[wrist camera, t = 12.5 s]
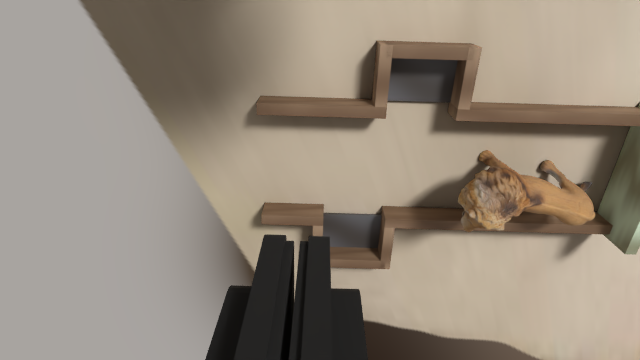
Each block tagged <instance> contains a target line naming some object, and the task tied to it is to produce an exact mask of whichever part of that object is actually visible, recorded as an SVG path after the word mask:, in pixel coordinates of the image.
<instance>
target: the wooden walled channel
mask: <svg viewBox="0 0 640 360" xmlns="http://www.w3.org/2000/svg"><path fill="white" fill-rule="evenodd" d="M481 50H482V47H479V46H476V45H474V44H468V43H435V42H402V41H377V44H376V56H375V68H374V79H373V91H372V99H347V98H314V97H281V96H260V98H259V100H258V101H257V103H256V107H257V115H282V116H315V117H349V118H382V119H386V110H387V101H419V102H449V107H448V113H449V114H450V115H451V116H452V117H453V118H454V119H455V120H456V121H482V122H516V123H549V124H583V125H616V126H630V129H629V132H628V134H627V137H626V139H625V142H624V144H623V147H622V150H621V152H620V155H619V157H618V160H617V162H616V165H615V168H614V170H613V173H612V175H611V178H610V180H609V183H608V186H607V188H606V191H605V193H604V196H603V199H602V201H601V204H600V206H599V209H598V211H597V212H595V217H594V219H592V220H591V221H587V222H586V223H584V224H583V225H577V226H572V225H567V224H565V223H563V222H562V221H560V220H559V219H558V218H557V217H555V216H552V215H547V214H537V213H531V212H526V211H523V212H522V213H521V214H520V215H519V216H516V217H514V216H513V217H511V220H509V221H508V222H506V223H505V224H504V230H500V231H510V232H544V233H578V234H603V235H604V236H605V237H606V238H608V239H609V240H610V241H611V242H612V243H613V244H614V245H615V246H616V247H618V248H619V249H620V250H621V251H622V252H623V253H624V254H636V253H637V251H638V249H639V247H640V103H639V106H638V107H614V106H580V105H547V104H514V103H480V102H471V101H472V96H473V90H474V85H475V80H476V75H477V70H478V65H479V60H480V55H481ZM323 208H324V204H292V203H265V204H264V207H263V211H262V215H261V221H262V224H272V225H306V226H313V236H330V267H336V268H370V269H390V261H391V253H392V246H393V238H394V230H395V228H408V229H442V230H464V228H463V225H462V223H461V219H462V217H463V215H462V213H463V211H464V209H462V208H428V207H394V206H382V212H381V215H379V214H345V213H323ZM474 230H476V231H497V230H496V229H491V230H488V229H485V228H484V229H481V228H476V229H474Z"/></svg>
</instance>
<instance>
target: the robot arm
mask: <svg viewBox="0 0 640 360" xmlns="http://www.w3.org/2000/svg"><path fill="white" fill-rule="evenodd" d="M205 360H368V357H367V348H366V340H365V331H364V322H363V313H362V305H361V296H360V291H359V289H332V288H331V271H330V236H309V242H308V241H300V250H299V260H298V271H297V281H296V291H295V302H294V241H286V235H264V238H263V242H262V246H261V250H260V254H259V258H258V262H257V266H256V270H255V274H254V279H253V283H252V286H230V287H229V289H228V291H227V294H226V297H225V300H224V303H223V307H222V310H221V313H220V316H219V319H218V322H217V325H216V328H215V331H214V335H213V337H212V341H211V344H210V347H209V350H208V353H207V356H206V359H205Z"/></svg>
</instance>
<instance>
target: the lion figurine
mask: <svg viewBox="0 0 640 360" xmlns="http://www.w3.org/2000/svg"><path fill="white" fill-rule="evenodd" d="M479 160H480V161H482V162H484V163H485V164H486V165H488V166H490V168H489V169H488V170H481V171H480V173H476V174H475V178H474V179H473V180H471V181H470V182H469V183H468V184H467V185H465V188H463V189H462V190H461V192H460V194H459V197H458V203H459V204H461V206H462V207H463V208H464V211H463V213H462V215H463V217H462V219H461V223H462V225H463V228H464V230H465V231H466V232H471V231H473V230H474V229H476V228H481V229H484V228H485V229H488V230H491V229H496V230H497V231H500V230H504V224H505V223H506V222H508V221H509V220H511V217H513V216H514V217H516V216H519V215H520V214H521V213H522V212H523V211H526V212H531V213H537V214H547V215H552V216H555V217H557V218H558V219H559V220H560V221H562V222H563V223H565V224H567V225H572V226H577V225H583V224H584V223H586V222H587V221H591V220H592V219H594V217H595V212H594V207H593V203H592V201H591V200H590V198H589V197H588V195H587V194H586V193H585V191H586V190H587V189H588V188H589V187H590V186H591V184H592V182H584V183H583V184H581V186H580V187H578V186H577V185H575V184H574V183H572V182H571V181H569V180H568V179H566V177H565V175H564V174H562V173H561V172H560V171H559V170H558V169H557V168H556V167H555V165H554V164H553V163H552V162H551V161H549V160H545V161H543V162H542V164H541V166H540V169H541V170H542V171H543V172H546V173H549V174H550V175H552V176H553V177H554V178H555V179H556V180H557V181H558V182H559V185H560V187H561V189H560V188H558V187H556V186H554V185H553V184H551V183H549V182H547V181H545V180H543V179H540V178H536V177H533V176H526V175H520V174H518V173H517V172H516V171H514V170H512V169H511V168H509V167H508V166H507V165H506V164H504V163H502V162H501V161H500V160H498V159H497V158H496V157H495V156H494V155H493V154H492V153H491V152H490V151H488V150H486V151H483V152H482V153H481V154H480V157H479Z"/></svg>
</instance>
